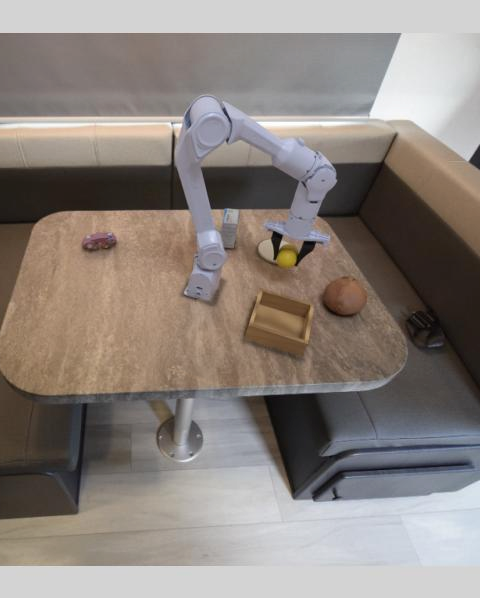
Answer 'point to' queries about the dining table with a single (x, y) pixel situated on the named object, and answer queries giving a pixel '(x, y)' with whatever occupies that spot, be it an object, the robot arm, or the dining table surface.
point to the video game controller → (99, 240)
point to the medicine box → (229, 227)
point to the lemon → (287, 256)
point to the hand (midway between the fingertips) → (285, 261)
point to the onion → (345, 296)
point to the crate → (281, 322)
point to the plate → (268, 250)
